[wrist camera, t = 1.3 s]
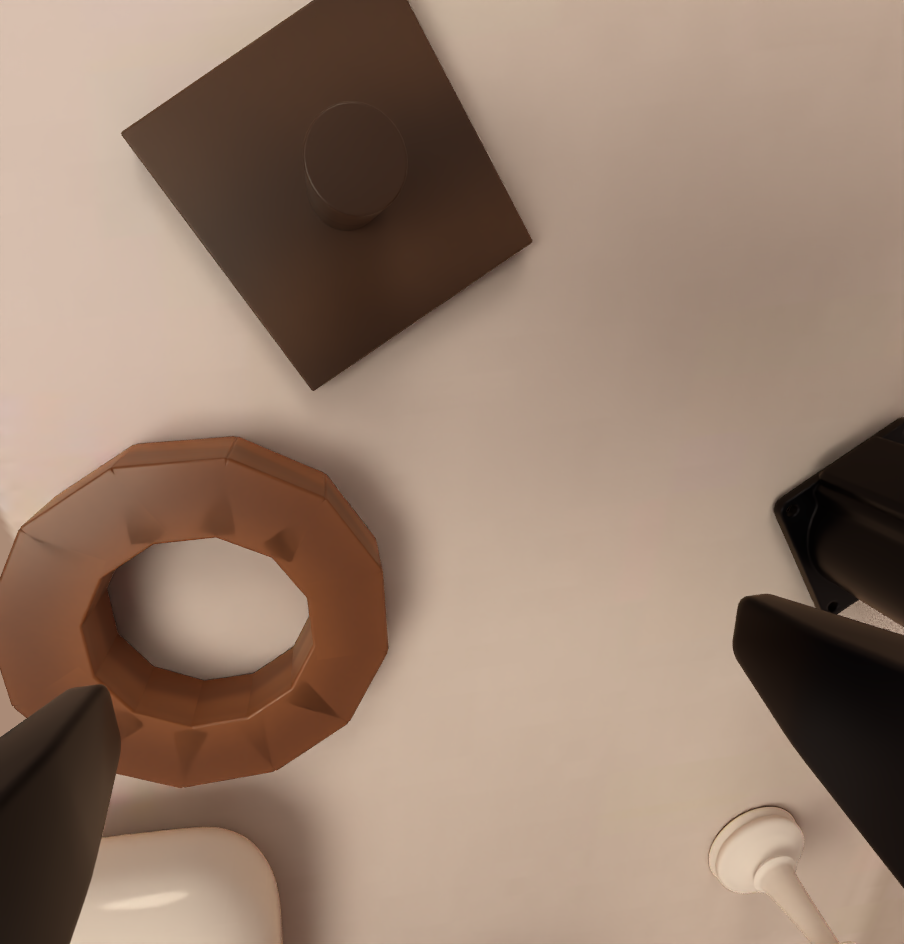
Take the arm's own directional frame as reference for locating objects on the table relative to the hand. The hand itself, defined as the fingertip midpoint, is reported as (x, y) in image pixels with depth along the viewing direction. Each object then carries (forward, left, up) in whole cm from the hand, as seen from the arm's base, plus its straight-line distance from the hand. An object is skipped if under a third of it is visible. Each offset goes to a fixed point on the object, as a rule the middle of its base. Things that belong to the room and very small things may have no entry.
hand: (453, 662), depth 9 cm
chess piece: (-29, -3, -13) cm, 31 cm away
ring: (-1, +8, -12) cm, 15 cm away
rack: (+7, -3, -12) cm, 14 cm away
